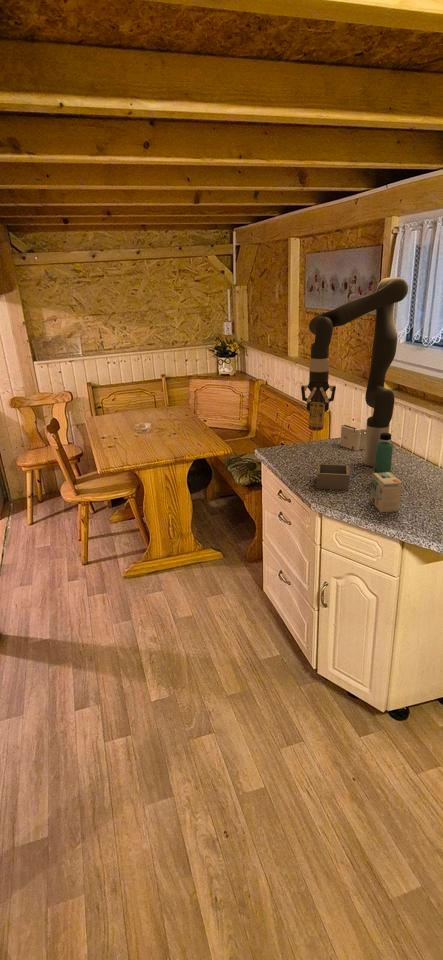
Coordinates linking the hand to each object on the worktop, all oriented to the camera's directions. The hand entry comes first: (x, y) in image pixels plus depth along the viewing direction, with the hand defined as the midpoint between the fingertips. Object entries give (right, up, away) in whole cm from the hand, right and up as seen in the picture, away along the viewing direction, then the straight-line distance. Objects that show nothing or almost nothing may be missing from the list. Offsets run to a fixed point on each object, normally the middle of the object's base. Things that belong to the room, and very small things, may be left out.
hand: (317, 411), depth 207 cm
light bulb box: (+19, -37, -26) cm, 49 cm away
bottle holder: (+5, -29, -6) cm, 30 cm away
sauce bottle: (0, -7, +3) cm, 8 cm away
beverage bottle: (+24, -29, -5) cm, 38 cm away
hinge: (+24, -13, +36) cm, 46 cm away
